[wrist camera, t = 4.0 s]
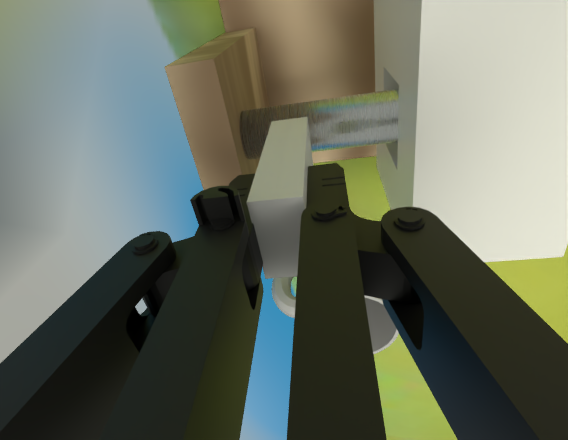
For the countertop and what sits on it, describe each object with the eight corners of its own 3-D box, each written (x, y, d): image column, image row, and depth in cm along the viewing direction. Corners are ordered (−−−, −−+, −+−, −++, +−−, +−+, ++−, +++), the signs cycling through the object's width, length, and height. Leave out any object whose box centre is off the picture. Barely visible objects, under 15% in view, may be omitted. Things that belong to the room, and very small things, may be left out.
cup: (376, 282, 36) (392, 360, 29) (277, 278, 37) (268, 353, 29) (386, 223, 32) (408, 295, 25) (275, 220, 33) (264, 290, 25)
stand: (257, 164, 30) (226, 262, 19) (221, -4, 23) (145, 7, 13) (670, 116, 25) (916, 209, 15) (767, -108, 19) (1320, -217, 8)
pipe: (238, 153, 20) (228, 176, 18) (226, 101, 18) (212, 118, 16) (846, 78, 16) (941, 95, 14) (896, 3, 14) (1013, 7, 12)
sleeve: (376, 167, 24) (410, 267, 15) (373, -10, 18) (422, -3, 10) (472, 156, 23) (562, 256, 15) (499, -33, 17) (667, -46, 9)
